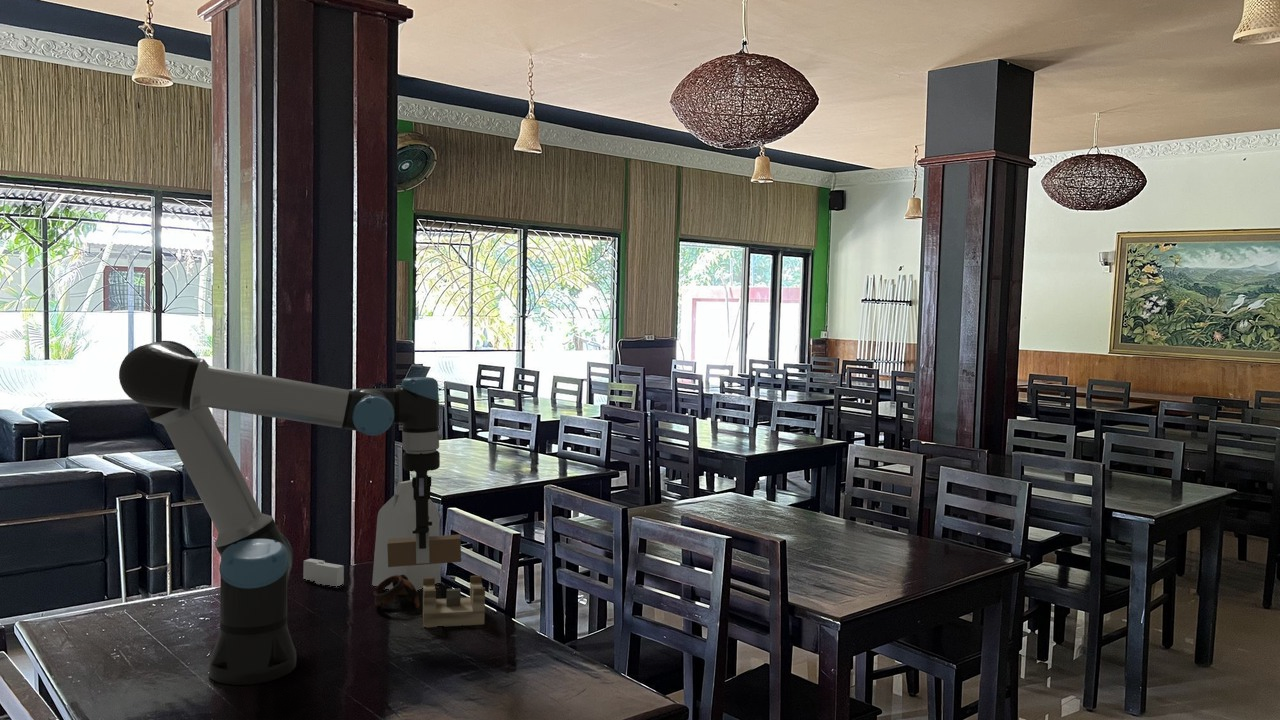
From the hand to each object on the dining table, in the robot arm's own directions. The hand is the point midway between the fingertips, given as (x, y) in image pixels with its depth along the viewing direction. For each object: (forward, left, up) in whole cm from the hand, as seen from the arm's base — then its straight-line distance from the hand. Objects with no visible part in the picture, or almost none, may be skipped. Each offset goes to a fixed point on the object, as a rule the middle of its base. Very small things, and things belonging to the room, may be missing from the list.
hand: (423, 559), depth 193 cm
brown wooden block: (0, 0, -1) cm, 1 cm away
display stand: (+8, -7, -16) cm, 19 cm away
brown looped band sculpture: (+18, +5, -16) cm, 25 cm away
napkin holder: (+40, +23, -16) cm, 49 cm away
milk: (+35, +3, -16) cm, 38 cm away
